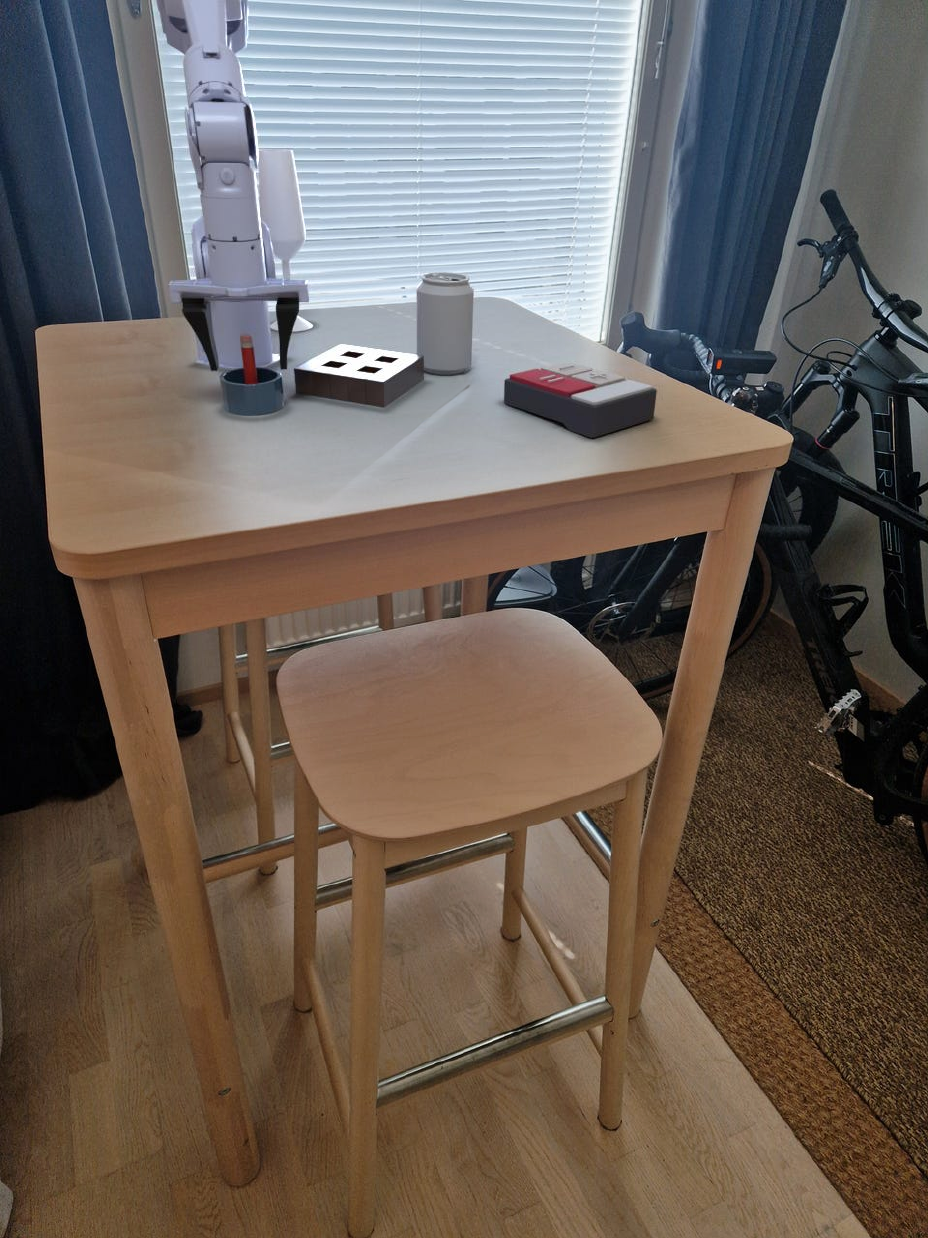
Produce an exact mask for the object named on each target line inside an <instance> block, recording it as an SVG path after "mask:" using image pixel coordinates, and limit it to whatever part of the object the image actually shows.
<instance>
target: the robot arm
mask: <svg viewBox="0 0 928 1238" xmlns="http://www.w3.org/2000/svg"><path fill="white" fill-rule="evenodd" d="M155 1H156V6H157V10H158V12H159V17H160V23H161V28H162V33H163V34H164V35H165V39H166V44H167V45H169V46H171V47H172V48H174V49H175V50H177V51H178V52H180V53H182V55H184V56H183V60H182V61H183V62H182V67H183V74H184V83H185V92H186V100H187V107H188V108H187V107H184V121H185V129H186V135H187V136H186V137H187V144H188V150H189V156H190V159H191V162H192V166H193V170H194V173H195V178H196V185H197V189H199V191H200V194H199V195H200V196H199V198H200V205H201V212H202V213H201V214H202V215H201V216H200V217H199V218H198V219H197V220H196V221H195V222H194V223H193V224H192V229H191V230H190V232H191V233H190V234H191V241H192V243H191V249H192V257H193V265H194V272H195V277H196V279H181V280H170V281H169V283H168V290H169V296H170V302H171V304H182V309H181V312H182V314H183V316H184V319H185V320H186V321H187V322H188V324H189V326H190V327H191V328H192V330H193V332H194V334H195V340H196V347H197V355H198V360H196V361H195V363H196V364H199V365H206V366H209V368H210V371H211V372H217V371H218V370H219V368H224V369H225V368H226V369H229V370H232V369H236V368H243V360H242V352H241V346H240V335H242V334H250V335H252V338H253V344H254V346H253V347H254V354H255V363H256V367H265V368H268V367H270V366H271V365H274V364H276V363H277V362H279V366H280V371H282V370H283V371H284V370H286V371H287V370H288V352H289V346H290V342H291V336H292V335H293V332H292V330H293V327H294V324H295V321H296V318H297V316H299V312H300V303H309V302H310V295H309V294H310V291H309V281H308V279H291V280H287V279H283V278H277V274H276V263H275V255H274V254H273V248H272V243H271V239H270V231H269V229H268V228H267V225H266V224H265V223H264V222H263V221H261V220H260V202H259V196H258V195H259V193H258V185H257V175H256V174H257V173H256V171H255V170H254V169H253V168H252V167H251V162H250V158H251V160H253V163H254V168H255V169H256V170H257V169H258V166H259V145H258V143H259V142H258V135H257V134H258V133H257V125H256V120H255V115H254V111H253V108H252V104H251V102H250V99H249V96H248V95H246V91H245V85H244V78H243V77H244V76H243V72H242V71H243V70H242V66H241V62H240V60H239V58H238V56H237V55H236V54H238V53H240V52H241V51H242V50H245V49H246V48H247V46H248V45H247V39H248V37H249V19H248V17H249V0H155ZM268 302H276V304H275V314H276V321H277V324H278V331H277V332H278V342H279V353H273V352H274V350H273V341H272V331H271V328H270V325H271V323H270V313H269V303H268Z"/></svg>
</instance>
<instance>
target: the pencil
mask: <svg viewBox="0 0 928 1238" xmlns="http://www.w3.org/2000/svg"><path fill="white" fill-rule="evenodd" d="M240 346H241V352H242V360H243V368H244V376H245V384H257V383H258V380H257V372H256V363H255V354H254V347H253V346H254V344H253V338H252V335H250V334H242V335H240Z"/></svg>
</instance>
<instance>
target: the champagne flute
mask: <svg viewBox="0 0 928 1238" xmlns="http://www.w3.org/2000/svg"><path fill="white" fill-rule="evenodd" d="M258 191H259V193H258V195H259V196H258V202H259V213H260V220H261V221H263V222H264V223H265V224H266V225H267V228H268V229H269V231H270V239H271V243H272V248H273V254H274V257H276V258H278V259H279V260H281V267H282V268H281V269H282V279H287V280H292V274H291V262H290V260H292V259H293V258H294V257H295V256H296V255H297V254H298V252H299V251H300V250H301V249H302V248H303V246H304V244H305V242H306V240H307V231H306V224H305V219H304V213H303V212H304V211H303V207H302V206H303V205H302V199H301V195H300V187H299V179H298V174H297V169H296V163H295V155H294V150H292V149H286V148H260V149H258ZM312 328H314V326H313V324H312V323H310V322H309V321H308V320H306V319H304V318H302V317H301V316H299V315H297V318H296V321H295V324H294V327H293V330H292V333H294V332H303V331H308V330H310V329H312ZM270 330H273V331H277V332H278V324H277V320H276V321H274V322H273V323H271V324H270Z"/></svg>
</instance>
